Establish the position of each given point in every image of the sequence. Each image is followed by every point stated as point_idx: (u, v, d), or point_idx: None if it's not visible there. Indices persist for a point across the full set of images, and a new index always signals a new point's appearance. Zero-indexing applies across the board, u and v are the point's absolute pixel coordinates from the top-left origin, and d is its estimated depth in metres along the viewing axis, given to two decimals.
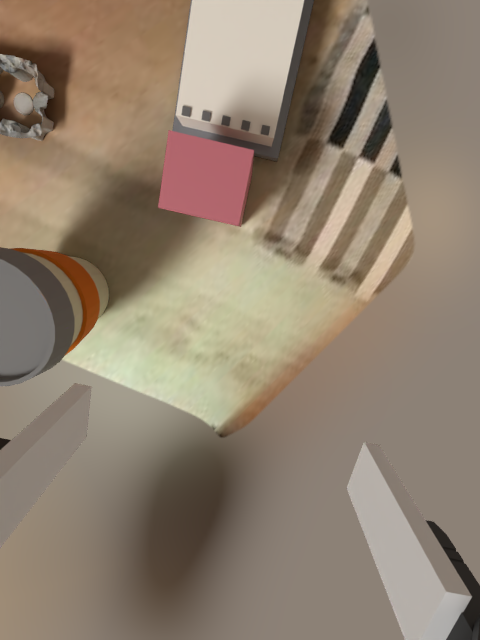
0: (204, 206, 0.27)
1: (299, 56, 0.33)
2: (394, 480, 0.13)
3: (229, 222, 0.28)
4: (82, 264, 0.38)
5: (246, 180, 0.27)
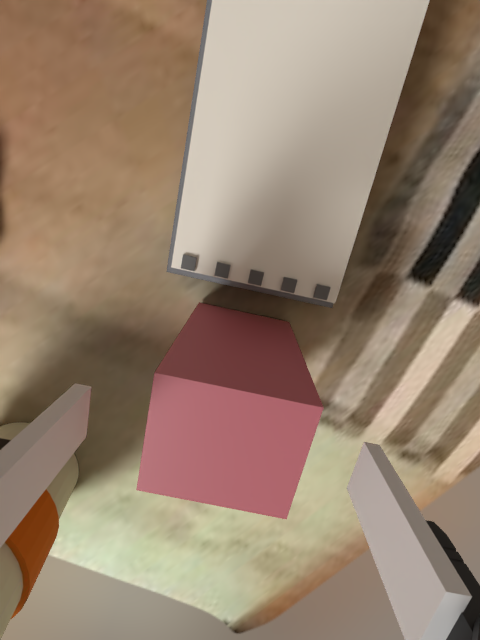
0: (224, 490, 0.15)
1: None
2: (394, 480, 0.13)
3: (269, 513, 0.15)
4: None
5: (305, 453, 0.14)
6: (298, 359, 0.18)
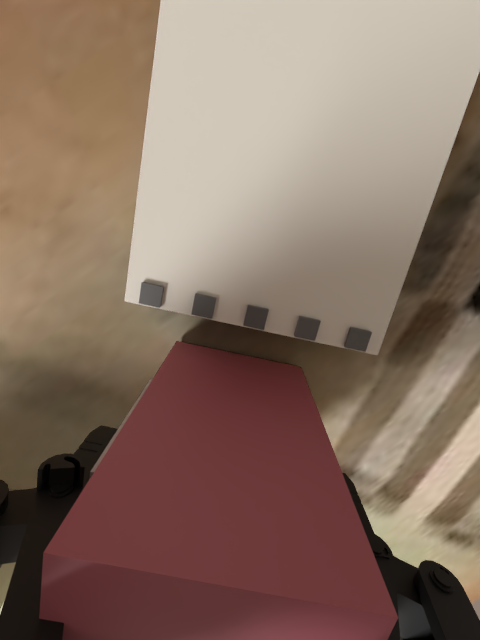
0: None
1: None
2: None
3: None
4: None
5: None
6: (326, 454, 0.11)
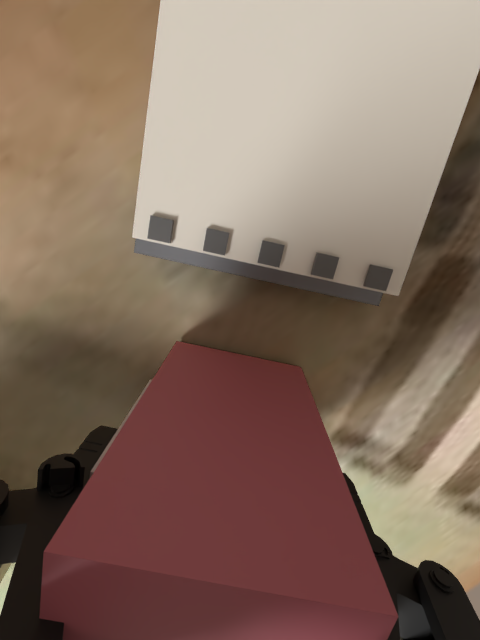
0: None
1: None
2: None
3: None
4: None
5: None
6: (326, 453, 0.11)
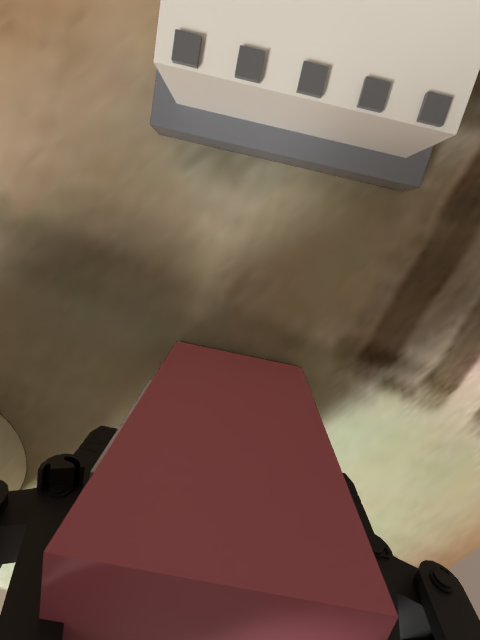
0: None
1: None
2: None
3: None
4: None
5: None
6: (326, 454, 0.11)
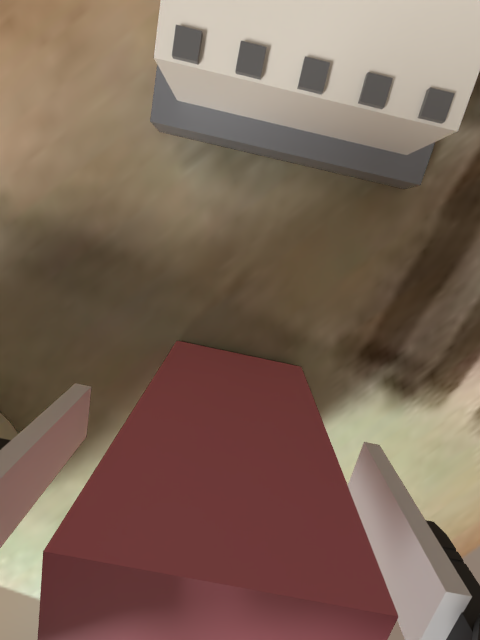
0: None
1: None
2: (394, 480, 0.13)
3: None
4: None
5: None
6: (326, 453, 0.11)
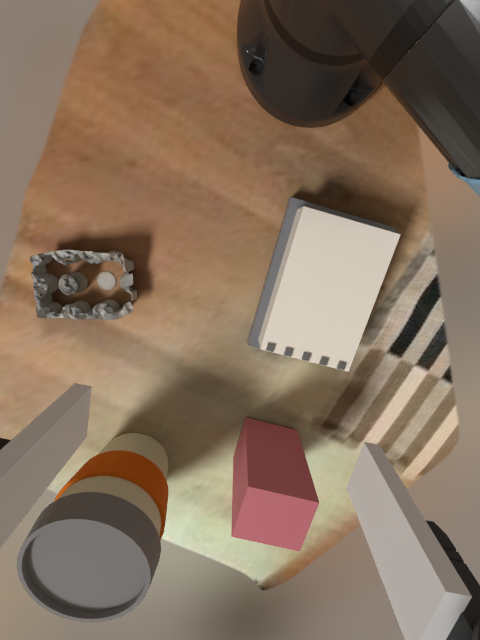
0: (272, 537, 0.32)
1: None
2: (394, 480, 0.13)
3: (292, 548, 0.32)
4: (151, 453, 0.40)
5: (310, 521, 0.31)
6: (305, 467, 0.35)
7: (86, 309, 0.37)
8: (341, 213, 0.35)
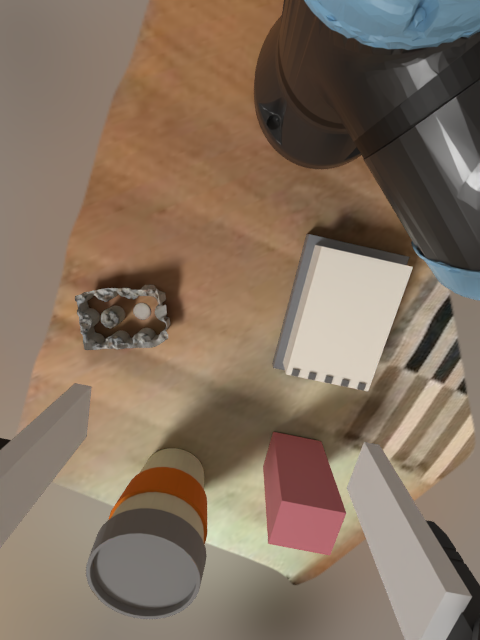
0: (304, 543, 0.35)
1: None
2: (394, 480, 0.13)
3: (323, 553, 0.36)
4: (189, 467, 0.44)
5: (338, 529, 0.35)
6: (332, 479, 0.39)
7: (125, 338, 0.41)
8: (356, 246, 0.37)
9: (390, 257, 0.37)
